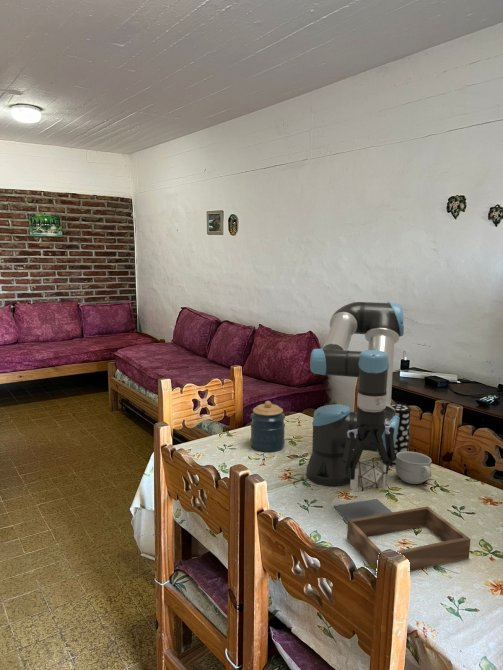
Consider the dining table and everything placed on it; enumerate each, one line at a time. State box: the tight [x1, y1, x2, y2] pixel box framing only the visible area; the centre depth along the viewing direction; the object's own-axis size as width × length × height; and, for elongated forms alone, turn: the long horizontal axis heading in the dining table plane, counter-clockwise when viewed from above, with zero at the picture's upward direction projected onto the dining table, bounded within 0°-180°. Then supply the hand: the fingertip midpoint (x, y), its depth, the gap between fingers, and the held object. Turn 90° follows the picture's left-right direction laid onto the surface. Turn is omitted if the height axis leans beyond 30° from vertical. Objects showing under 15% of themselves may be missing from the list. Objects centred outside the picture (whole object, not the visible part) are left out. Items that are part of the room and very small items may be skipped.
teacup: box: [395, 451, 432, 485], centre depth 156 cm, size 14×11×8 cm
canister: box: [250, 400, 286, 453], centre depth 184 cm, size 13×13×18 cm
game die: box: [356, 457, 386, 492], centre depth 135 cm, size 9×8×10 cm
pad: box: [333, 498, 394, 523], centre depth 137 cm, size 12×14×1 cm
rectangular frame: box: [346, 506, 471, 572], centre depth 121 cm, size 16×24×5 cm, turn 107°
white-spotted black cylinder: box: [389, 403, 412, 468], centre depth 170 cm, size 8×8×20 cm
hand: (367, 487), depth 135 cm, fingers closed on game die, 8 cm apart
